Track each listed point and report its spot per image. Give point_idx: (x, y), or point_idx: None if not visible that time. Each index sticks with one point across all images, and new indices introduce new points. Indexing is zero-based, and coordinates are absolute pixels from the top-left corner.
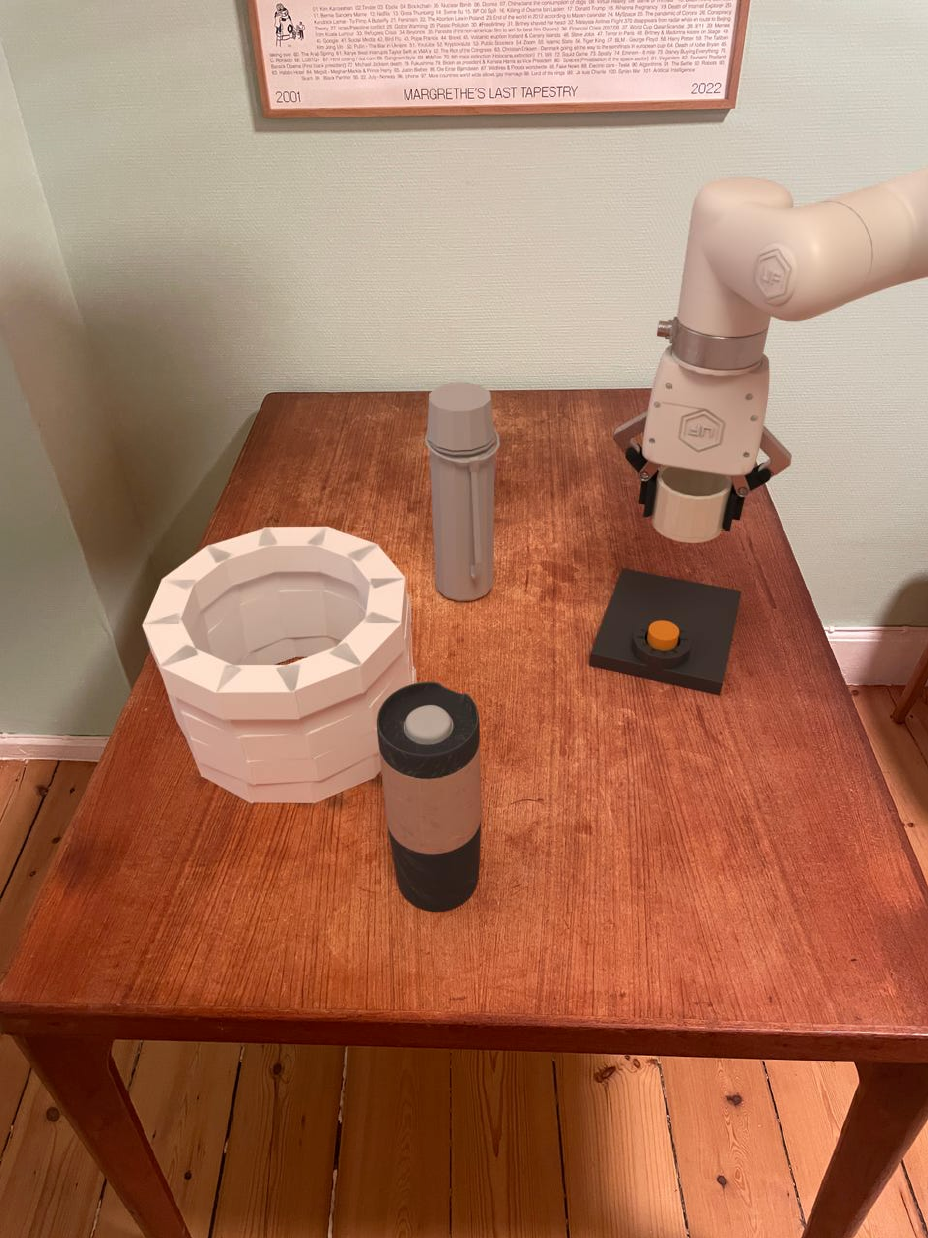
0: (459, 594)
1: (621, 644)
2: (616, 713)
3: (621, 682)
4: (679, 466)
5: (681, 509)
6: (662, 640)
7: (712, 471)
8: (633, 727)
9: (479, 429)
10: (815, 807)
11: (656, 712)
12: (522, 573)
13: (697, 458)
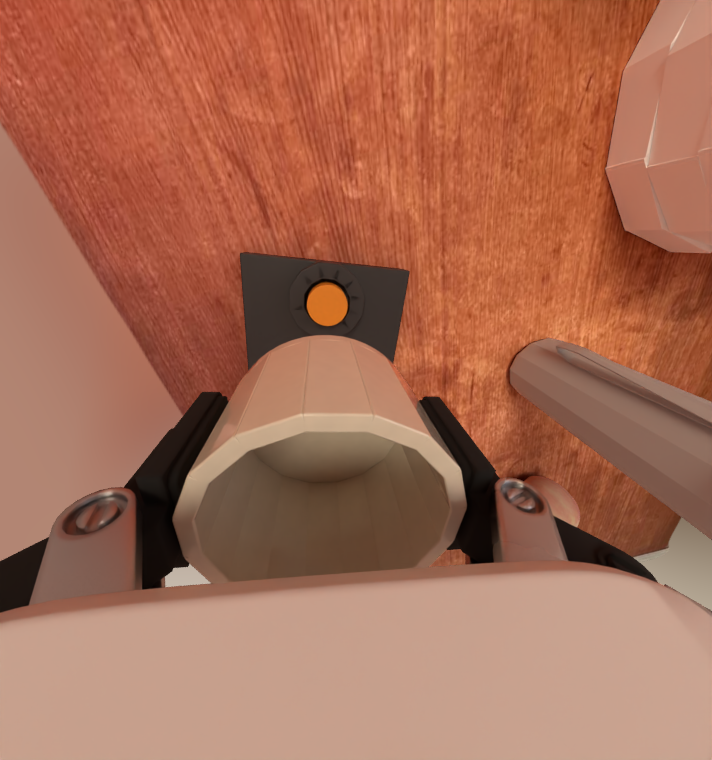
0: (552, 340)
1: (373, 297)
2: (365, 184)
3: (364, 248)
4: (459, 582)
5: (356, 381)
6: (326, 284)
7: (202, 605)
8: (341, 159)
9: None
10: (54, 20)
11: (316, 199)
12: (476, 398)
13: (352, 746)
